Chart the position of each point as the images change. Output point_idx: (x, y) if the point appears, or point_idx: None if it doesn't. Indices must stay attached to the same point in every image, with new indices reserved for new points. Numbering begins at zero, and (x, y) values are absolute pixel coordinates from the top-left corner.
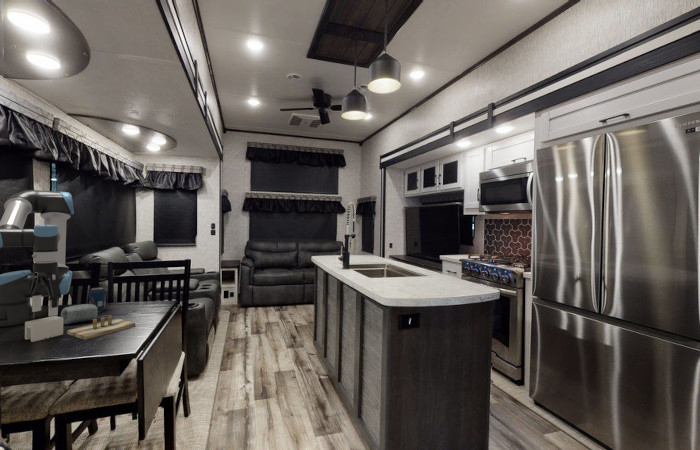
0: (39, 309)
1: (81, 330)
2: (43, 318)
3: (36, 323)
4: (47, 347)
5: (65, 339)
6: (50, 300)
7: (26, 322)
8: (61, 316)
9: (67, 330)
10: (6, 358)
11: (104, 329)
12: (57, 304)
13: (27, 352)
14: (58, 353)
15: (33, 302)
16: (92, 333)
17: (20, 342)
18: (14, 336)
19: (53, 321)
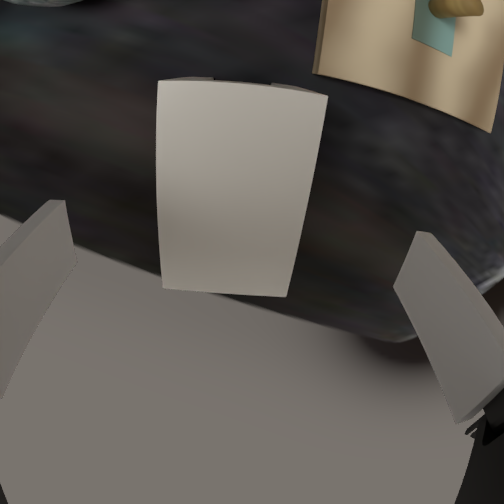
0: (59, 221)
1: (404, 51)
2: (166, 184)
3: (284, 277)
4: (411, 241)
5: (397, 145)
6: (474, 410)
7: (186, 290)
8: (46, 2)
9: (322, 73)
10: (367, 335)
11: (486, 23)
12: (488, 311)
13: (384, 293)
14: (480, 256)
15: (31, 332)
16: (489, 89)
17: None
18: (95, 226)
19: (310, 170)
